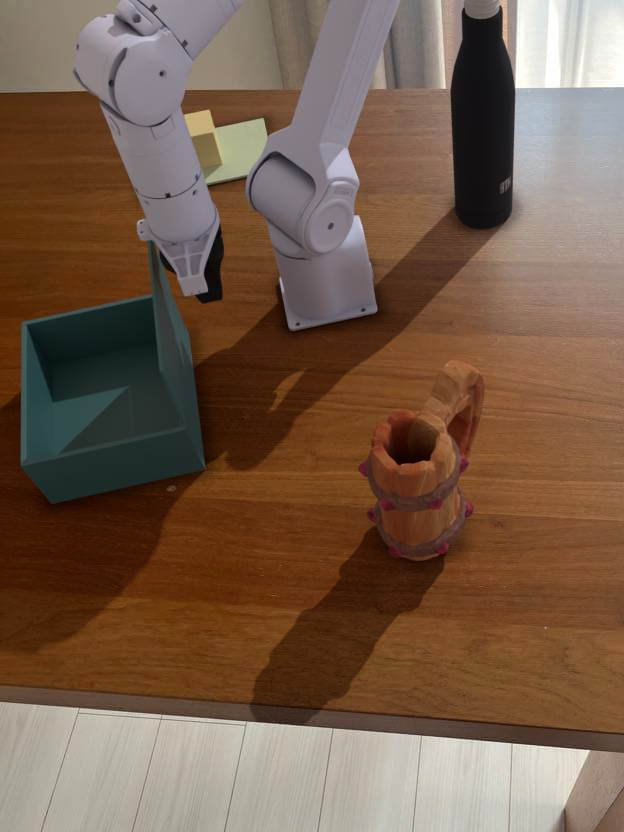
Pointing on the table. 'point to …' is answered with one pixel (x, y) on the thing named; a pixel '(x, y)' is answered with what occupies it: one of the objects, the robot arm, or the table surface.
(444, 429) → the mug
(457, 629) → the table surface
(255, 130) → the placemat
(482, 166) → the black insulated flask
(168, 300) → the flap
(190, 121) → the block
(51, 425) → the carton
